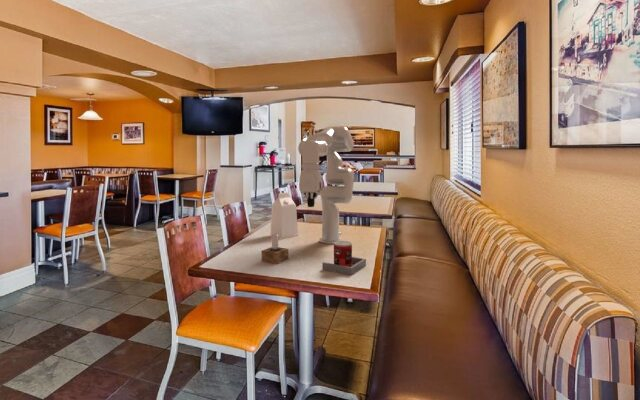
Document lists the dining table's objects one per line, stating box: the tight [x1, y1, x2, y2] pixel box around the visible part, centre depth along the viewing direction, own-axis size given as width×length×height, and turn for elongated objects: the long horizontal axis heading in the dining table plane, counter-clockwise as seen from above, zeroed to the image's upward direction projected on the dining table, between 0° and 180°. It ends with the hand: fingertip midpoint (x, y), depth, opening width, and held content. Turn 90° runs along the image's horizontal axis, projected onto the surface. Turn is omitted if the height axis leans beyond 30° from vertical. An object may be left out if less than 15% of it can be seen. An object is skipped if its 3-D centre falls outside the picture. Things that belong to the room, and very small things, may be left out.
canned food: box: [333, 240, 353, 267], centre depth 163 cm, size 8×8×11 cm
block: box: [260, 246, 290, 265], centre depth 174 cm, size 9×9×5 cm
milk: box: [269, 192, 299, 240], centre depth 222 cm, size 12×12×26 cm
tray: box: [321, 256, 367, 276], centre depth 163 cm, size 15×14×3 cm
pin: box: [271, 234, 279, 252], centre depth 173 cm, size 3×3×12 cm
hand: (310, 206), depth 174 cm, fingers closed
